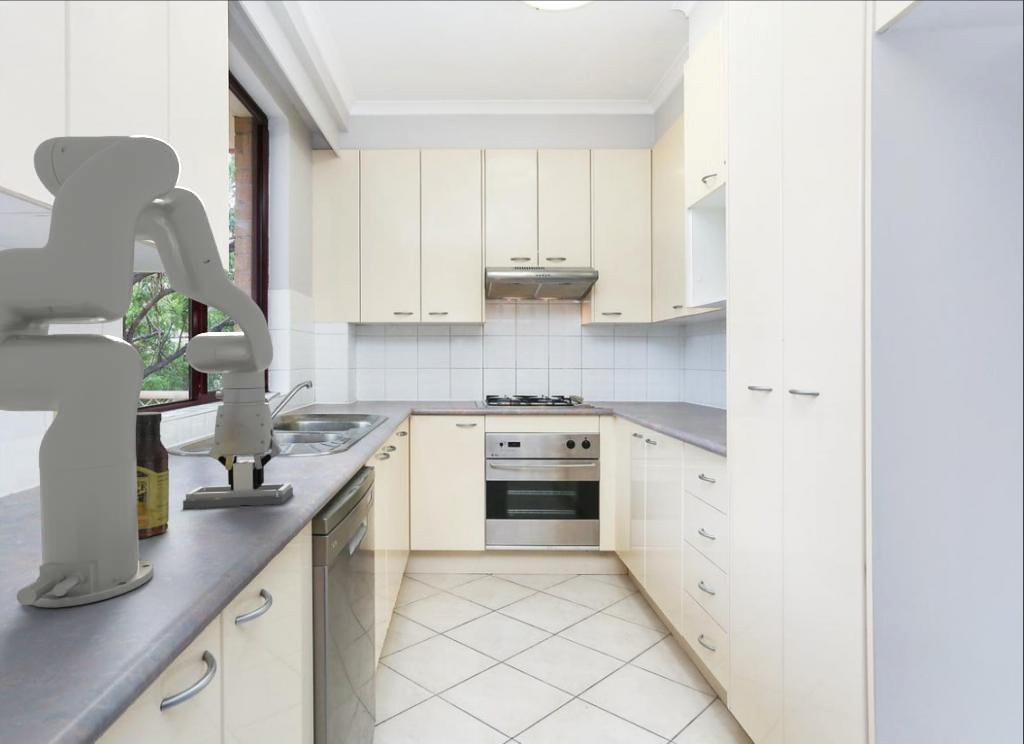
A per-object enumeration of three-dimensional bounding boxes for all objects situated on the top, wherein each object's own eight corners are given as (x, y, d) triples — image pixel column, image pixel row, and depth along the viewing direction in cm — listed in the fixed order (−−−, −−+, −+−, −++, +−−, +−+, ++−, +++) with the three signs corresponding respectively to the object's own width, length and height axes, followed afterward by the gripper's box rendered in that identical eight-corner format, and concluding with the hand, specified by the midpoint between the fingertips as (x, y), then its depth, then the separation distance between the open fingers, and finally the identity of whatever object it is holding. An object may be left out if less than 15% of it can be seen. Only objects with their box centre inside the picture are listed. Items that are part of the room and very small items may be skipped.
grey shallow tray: (282, 504, 105) (282, 491, 105) (183, 508, 102) (182, 495, 102) (292, 493, 113) (292, 482, 113) (201, 497, 110) (200, 485, 110)
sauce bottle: (113, 537, 86) (110, 413, 85) (152, 525, 92) (149, 410, 91) (141, 542, 84) (138, 415, 83) (179, 530, 89) (176, 411, 89)
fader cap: (252, 493, 106) (251, 462, 106) (233, 494, 106) (233, 463, 106) (258, 489, 110) (257, 459, 110) (240, 489, 109) (239, 460, 109)
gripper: (191, 399, 102) (194, 494, 103) (282, 397, 105) (284, 490, 105) (208, 396, 110) (210, 485, 111) (292, 394, 112) (294, 482, 113)
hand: (246, 487), depth 108 cm, fingers closed on fader cap, 3 cm apart
